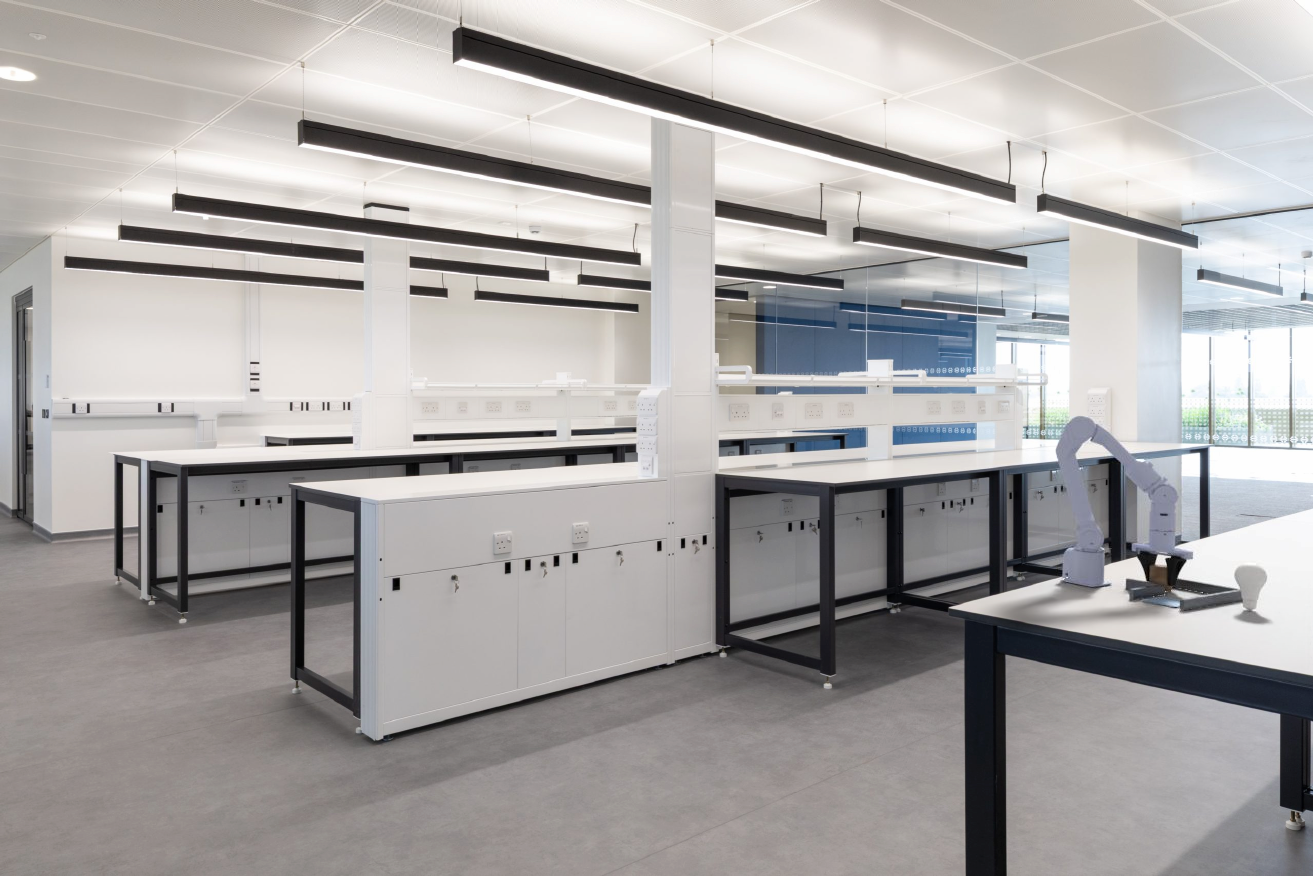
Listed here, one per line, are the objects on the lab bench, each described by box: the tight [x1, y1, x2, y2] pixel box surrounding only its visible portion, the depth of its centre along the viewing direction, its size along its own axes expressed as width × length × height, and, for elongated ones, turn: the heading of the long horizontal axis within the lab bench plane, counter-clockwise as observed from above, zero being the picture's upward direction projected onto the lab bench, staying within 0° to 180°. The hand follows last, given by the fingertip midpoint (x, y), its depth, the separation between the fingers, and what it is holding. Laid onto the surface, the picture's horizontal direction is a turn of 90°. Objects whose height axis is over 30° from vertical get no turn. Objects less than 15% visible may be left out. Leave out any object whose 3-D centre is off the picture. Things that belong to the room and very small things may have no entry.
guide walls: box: [1125, 577, 1243, 611], centre depth 208 cm, size 22×24×2 cm
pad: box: [1141, 596, 1180, 608], centre depth 201 cm, size 8×8×1 cm
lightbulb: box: [1234, 562, 1268, 612], centre depth 194 cm, size 6×6×11 cm
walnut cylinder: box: [1149, 564, 1173, 592], centre depth 216 cm, size 5×5×6 cm
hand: (1160, 583), depth 216 cm, fingers closed on walnut cylinder, 5 cm apart
